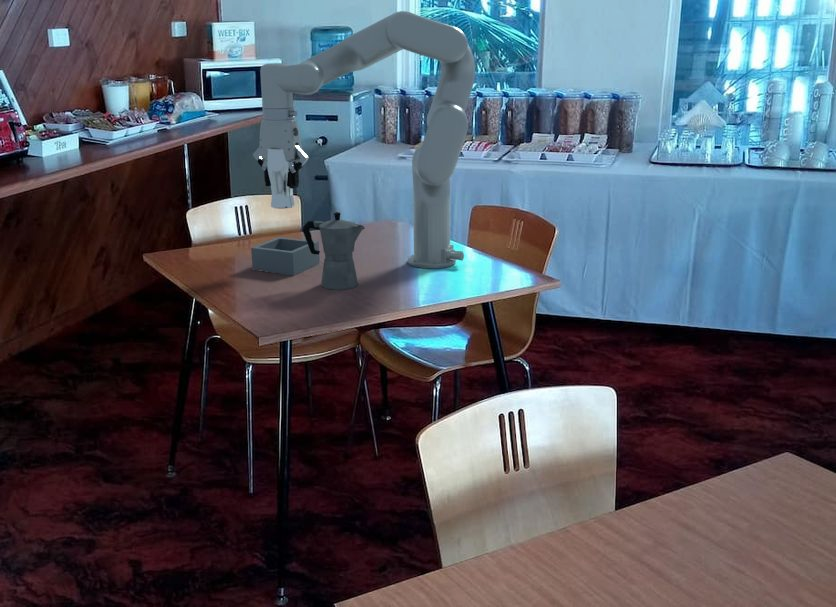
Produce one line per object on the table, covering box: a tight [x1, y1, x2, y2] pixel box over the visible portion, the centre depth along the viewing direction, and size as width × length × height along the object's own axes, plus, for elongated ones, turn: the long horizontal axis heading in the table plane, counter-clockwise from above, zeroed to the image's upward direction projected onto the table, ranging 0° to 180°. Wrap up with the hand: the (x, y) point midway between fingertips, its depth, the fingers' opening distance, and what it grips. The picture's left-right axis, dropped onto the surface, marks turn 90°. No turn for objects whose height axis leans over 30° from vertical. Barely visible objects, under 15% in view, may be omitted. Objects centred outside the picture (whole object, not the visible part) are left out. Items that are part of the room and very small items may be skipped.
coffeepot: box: [302, 211, 366, 291], centre depth 220 cm, size 15×9×18 cm, turn 78°
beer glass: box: [267, 148, 296, 210], centre depth 231 cm, size 7×7×15 cm
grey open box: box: [250, 236, 320, 277], centre depth 237 cm, size 12×12×6 cm
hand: (282, 186), depth 232 cm, fingers closed on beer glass, 6 cm apart
